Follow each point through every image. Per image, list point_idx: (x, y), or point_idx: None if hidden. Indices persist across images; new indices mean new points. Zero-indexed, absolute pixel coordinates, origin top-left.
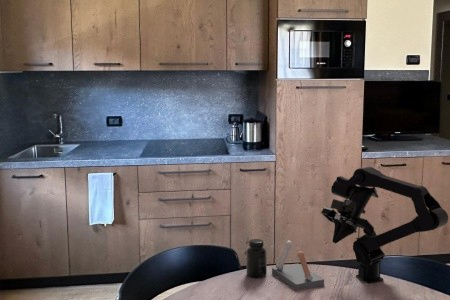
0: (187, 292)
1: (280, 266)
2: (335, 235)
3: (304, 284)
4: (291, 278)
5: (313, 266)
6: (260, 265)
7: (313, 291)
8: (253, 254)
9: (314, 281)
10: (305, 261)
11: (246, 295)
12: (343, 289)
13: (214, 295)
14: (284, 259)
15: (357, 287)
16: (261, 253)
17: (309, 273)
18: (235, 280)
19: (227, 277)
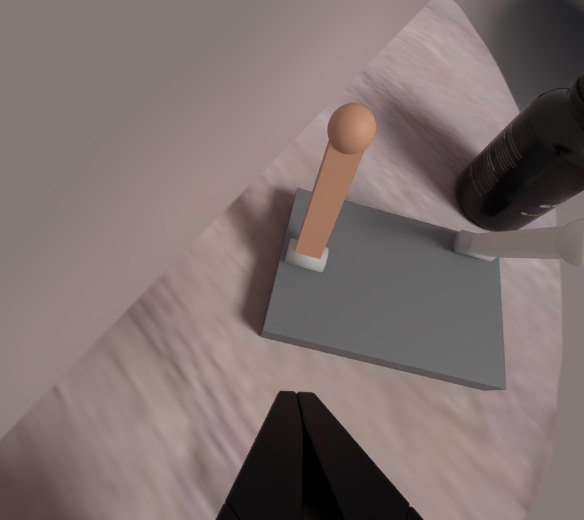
0: (446, 9)
1: (464, 232)
2: (315, 449)
3: (287, 227)
4: (357, 217)
5: (487, 502)
6: (488, 153)
7: (243, 247)
8: (539, 95)
9: (276, 273)
10: (319, 174)
11: (355, 77)
12: (161, 378)
13: (399, 32)
14: (492, 244)
15: (117, 474)
16: (533, 115)
17: (298, 238)
18: (471, 124)
19: (502, 123)
